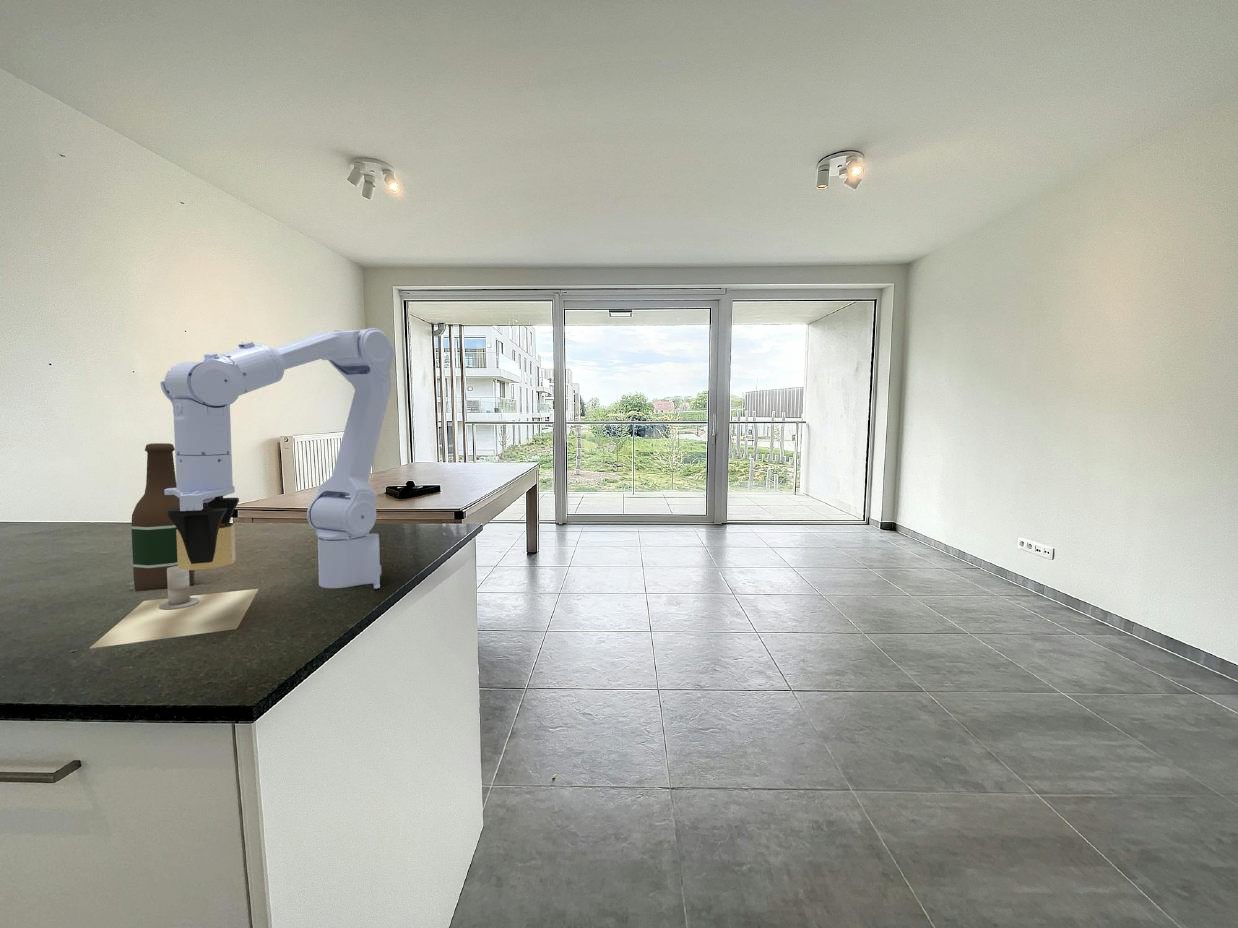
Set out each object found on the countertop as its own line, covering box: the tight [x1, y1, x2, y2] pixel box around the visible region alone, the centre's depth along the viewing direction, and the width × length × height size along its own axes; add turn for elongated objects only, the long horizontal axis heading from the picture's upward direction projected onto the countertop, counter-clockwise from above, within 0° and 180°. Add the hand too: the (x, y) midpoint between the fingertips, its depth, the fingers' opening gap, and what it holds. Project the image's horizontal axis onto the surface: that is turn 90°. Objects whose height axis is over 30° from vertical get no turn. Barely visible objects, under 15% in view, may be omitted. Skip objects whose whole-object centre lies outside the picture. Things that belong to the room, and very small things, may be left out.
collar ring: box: [176, 522, 236, 571], centre depth 67 cm, size 6×6×5 cm
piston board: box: [88, 566, 260, 650], centre depth 70 cm, size 14×18×6 cm
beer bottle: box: [130, 442, 195, 592], centre depth 83 cm, size 8×8×24 cm
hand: (207, 556), depth 67 cm, fingers closed on collar ring, 6 cm apart
